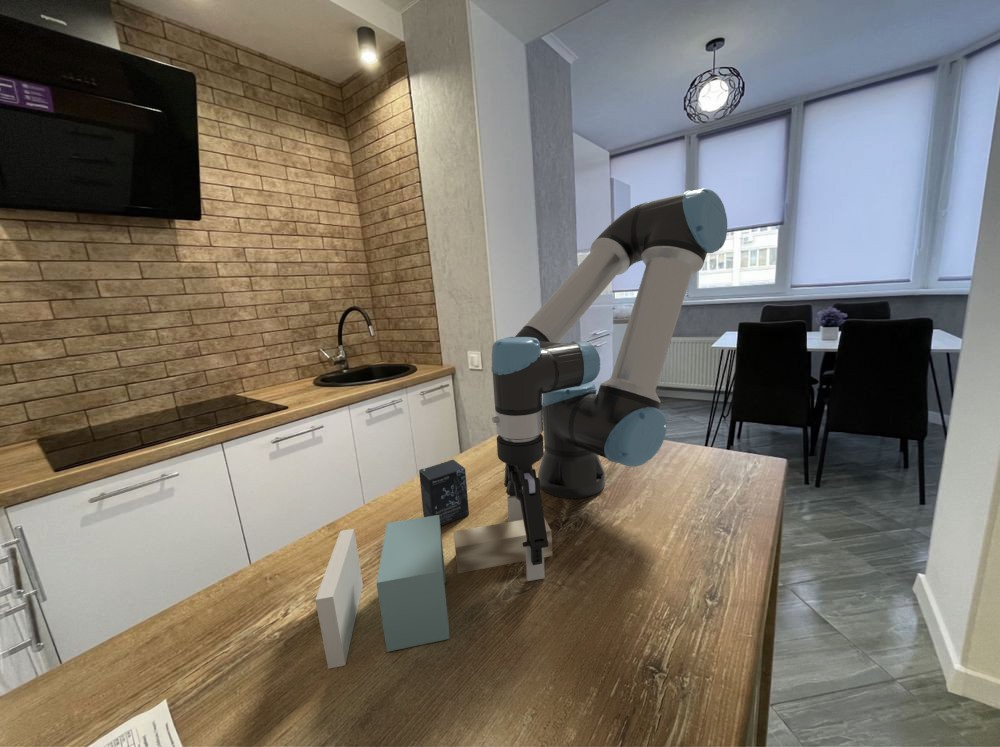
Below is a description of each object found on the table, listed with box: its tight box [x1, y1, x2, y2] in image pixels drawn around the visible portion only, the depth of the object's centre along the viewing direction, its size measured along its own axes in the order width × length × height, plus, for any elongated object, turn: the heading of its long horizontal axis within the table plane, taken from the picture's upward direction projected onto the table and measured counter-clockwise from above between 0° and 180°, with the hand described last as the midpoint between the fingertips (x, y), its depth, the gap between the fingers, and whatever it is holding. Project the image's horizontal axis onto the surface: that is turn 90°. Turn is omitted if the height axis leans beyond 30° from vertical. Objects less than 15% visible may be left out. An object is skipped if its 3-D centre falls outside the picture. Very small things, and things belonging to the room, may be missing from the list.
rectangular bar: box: [453, 517, 553, 574], centre depth 66 cm, size 16×4×5 cm, turn 101°
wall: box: [314, 528, 364, 670], centre depth 54 cm, size 2×14×10 cm, turn 10°
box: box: [418, 459, 470, 527], centre depth 79 cm, size 8×6×11 cm
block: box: [376, 515, 451, 653], centre depth 56 cm, size 8×13×10 cm, turn 10°
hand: (525, 550), depth 67 cm, fingers open, 13 cm apart
